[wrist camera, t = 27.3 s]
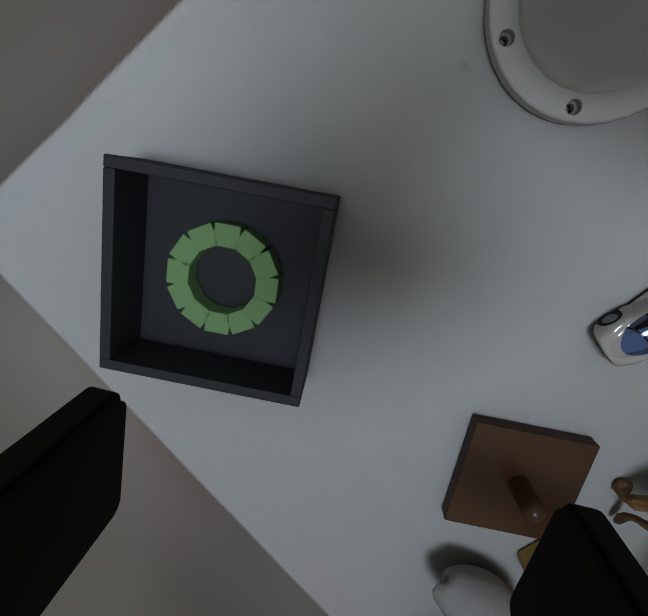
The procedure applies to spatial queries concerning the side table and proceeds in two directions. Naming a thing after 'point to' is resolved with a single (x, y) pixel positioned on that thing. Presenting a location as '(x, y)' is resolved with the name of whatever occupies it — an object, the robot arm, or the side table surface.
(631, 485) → the lion figurine
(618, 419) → the side table surface
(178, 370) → the bin
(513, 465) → the stand
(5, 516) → the robot arm
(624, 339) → the toy car
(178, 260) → the ring
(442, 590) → the stone
